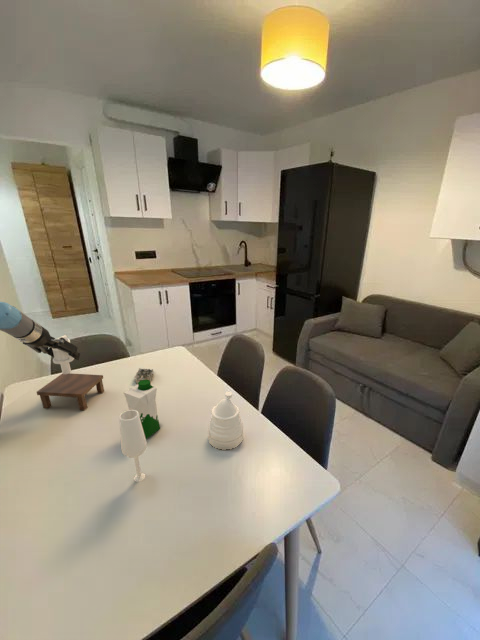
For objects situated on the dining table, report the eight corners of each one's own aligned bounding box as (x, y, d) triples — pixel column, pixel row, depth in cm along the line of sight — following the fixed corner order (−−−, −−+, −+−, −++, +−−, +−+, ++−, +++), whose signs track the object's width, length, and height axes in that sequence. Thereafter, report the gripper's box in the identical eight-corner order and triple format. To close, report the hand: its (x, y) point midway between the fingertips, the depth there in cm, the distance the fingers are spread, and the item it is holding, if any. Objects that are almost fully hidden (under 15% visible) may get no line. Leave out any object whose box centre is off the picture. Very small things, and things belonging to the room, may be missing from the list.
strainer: (81, 369, 121) (73, 336, 115) (67, 377, 115) (58, 342, 109) (66, 367, 122) (57, 334, 116) (52, 375, 116) (42, 340, 110)
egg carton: (150, 384, 139) (149, 377, 137) (134, 384, 138) (132, 377, 136) (155, 373, 148) (154, 366, 147) (139, 374, 147) (138, 366, 146)
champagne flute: (138, 493, 84) (126, 426, 74) (123, 483, 87) (109, 417, 77) (156, 477, 89) (147, 412, 79) (141, 468, 92) (131, 405, 82)
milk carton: (163, 428, 110) (158, 382, 102) (145, 442, 103) (138, 394, 95) (146, 421, 113) (140, 376, 106) (127, 434, 106) (119, 387, 98)
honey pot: (222, 422, 115) (221, 383, 108) (249, 434, 109) (251, 393, 102) (200, 441, 104) (198, 399, 97) (229, 455, 99) (229, 411, 92)
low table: (41, 408, 118) (36, 391, 115) (67, 388, 132) (63, 372, 129) (85, 411, 118) (81, 394, 114) (106, 390, 132) (102, 375, 129)
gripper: (-4, 343, 96) (41, 364, 118) (59, 344, 98) (91, 365, 119) (3, 322, 99) (45, 347, 120) (64, 324, 100) (95, 348, 122)
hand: (68, 356), depth 120 cm, fingers closed on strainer, 7 cm apart
